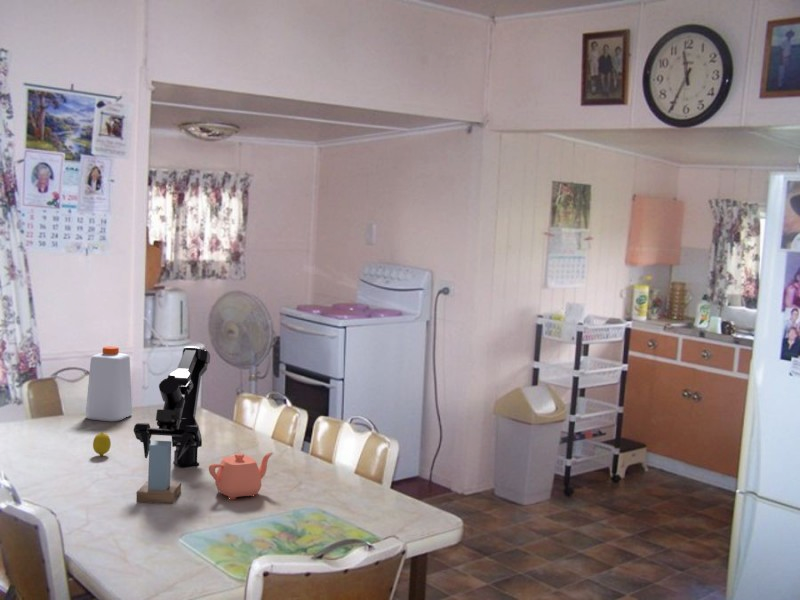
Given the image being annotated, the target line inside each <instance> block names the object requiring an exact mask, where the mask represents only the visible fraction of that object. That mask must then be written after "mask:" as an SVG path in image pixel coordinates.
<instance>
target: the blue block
mask: <svg viewBox="0 0 800 600" xmlns="http://www.w3.org/2000/svg"><path fill="white" fill-rule="evenodd" d="M171 465H172V440H171V441H170V440H153V441H152V442H151V443H150V445H149V453H148V477H147V478H148V479H147V481H148V490H165V491H166V489H167V488H168V487H169V486H170V482H171V470H172V469H171V468H172V466H171Z"/></svg>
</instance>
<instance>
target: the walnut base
mask: <svg viewBox="0 0 800 600" xmlns="http://www.w3.org/2000/svg"><path fill="white" fill-rule="evenodd" d="M181 488H182V482H173V481H170V486H169V487H168V488H167V489H166V491H165V490H148V480H147V481H145V482H144V484H143V485H142V486H141V487H140V488H139V489H138V490H137V491H136V500H135V501H136V503H137V502H139V503H142V502H144V503H142V504H159V503H164V504H165V505H172V504H173V503H174V502H175V501H176V499H177V498H178V497H179V495H180V494H181V493H182V492H181V490H182V489H181ZM164 504H163V505H164Z"/></svg>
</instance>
